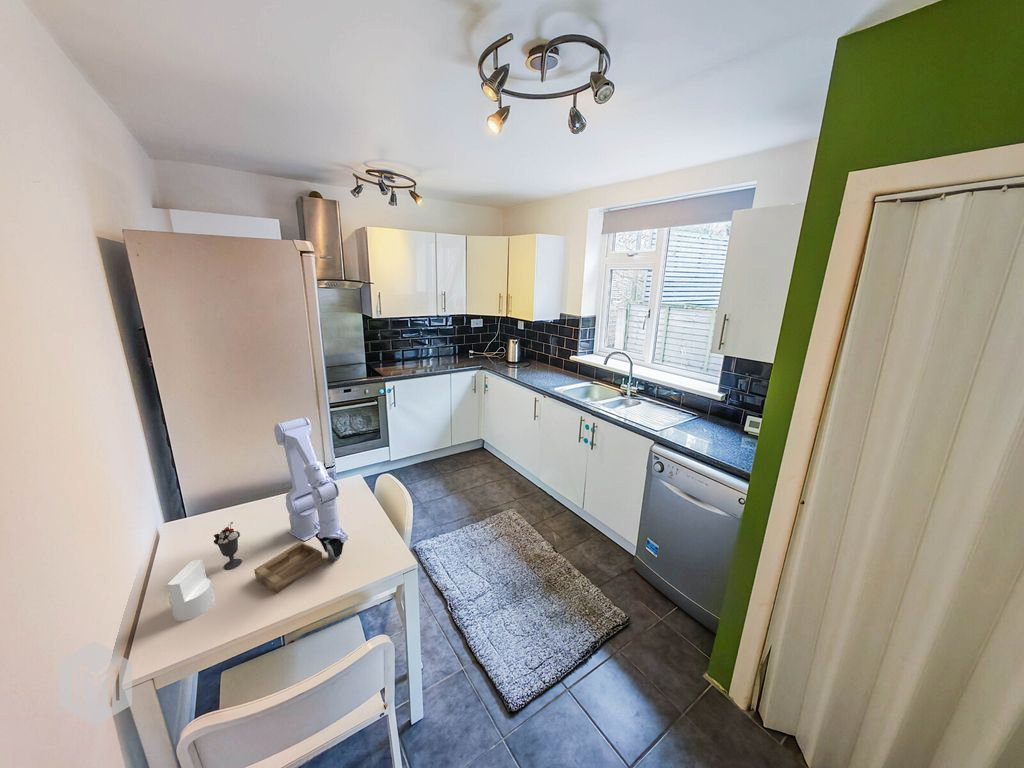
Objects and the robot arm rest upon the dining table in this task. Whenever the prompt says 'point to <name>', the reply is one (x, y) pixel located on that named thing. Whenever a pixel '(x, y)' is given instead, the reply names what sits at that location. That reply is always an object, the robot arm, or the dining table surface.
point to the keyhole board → (288, 566)
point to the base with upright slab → (190, 592)
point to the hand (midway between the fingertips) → (333, 552)
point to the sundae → (228, 546)
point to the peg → (330, 550)
